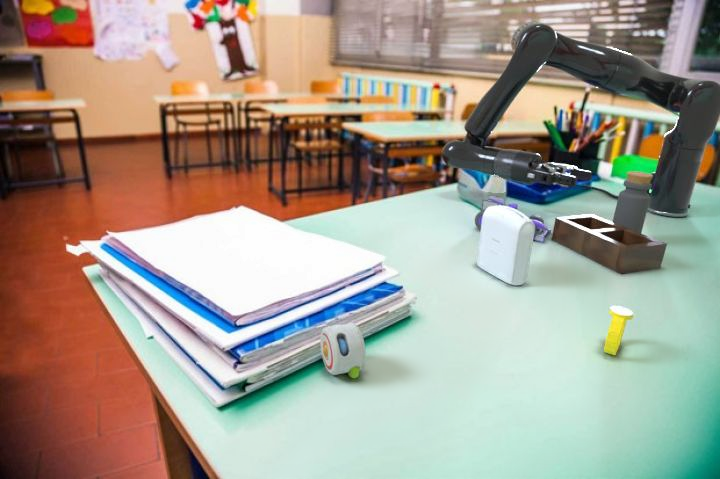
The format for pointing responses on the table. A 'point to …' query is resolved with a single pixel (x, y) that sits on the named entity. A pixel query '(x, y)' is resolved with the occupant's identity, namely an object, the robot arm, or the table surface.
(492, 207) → the photo printer
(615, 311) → the white topped yellow dowel
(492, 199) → the toy race car
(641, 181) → the bottle
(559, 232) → the box
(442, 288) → the table surface
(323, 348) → the roller toy
